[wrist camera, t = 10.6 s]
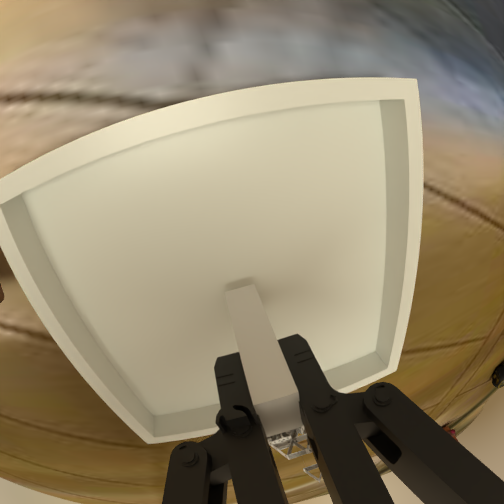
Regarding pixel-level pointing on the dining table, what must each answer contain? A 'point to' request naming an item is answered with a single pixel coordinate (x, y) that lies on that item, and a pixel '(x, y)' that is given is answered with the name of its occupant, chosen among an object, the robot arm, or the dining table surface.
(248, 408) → the robot arm
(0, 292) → the wooden block set
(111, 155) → the tray
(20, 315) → the dining table surface
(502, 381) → the tape measure
